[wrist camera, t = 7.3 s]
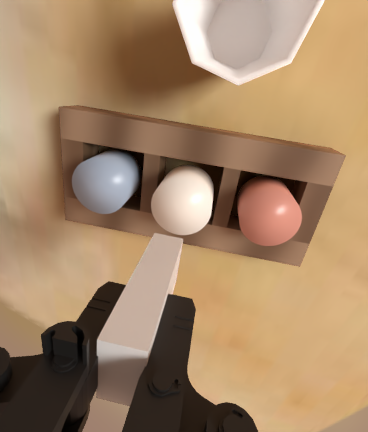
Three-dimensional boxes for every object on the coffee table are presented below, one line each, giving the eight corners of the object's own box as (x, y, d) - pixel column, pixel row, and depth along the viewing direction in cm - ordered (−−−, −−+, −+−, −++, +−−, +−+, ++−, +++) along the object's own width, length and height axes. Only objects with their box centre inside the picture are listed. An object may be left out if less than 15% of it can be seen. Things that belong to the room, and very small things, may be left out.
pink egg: (232, 217, 24) (233, 239, 20) (243, 171, 22) (247, 186, 18) (280, 227, 24) (290, 251, 20) (296, 180, 22) (310, 198, 18)
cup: (232, 108, 22) (235, 115, 14) (144, 3, 20) (96, -51, 12) (308, 35, 19) (359, -2, 12) (216, -96, 17) (209, -240, 10)
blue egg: (95, 191, 25) (73, 208, 21) (94, 144, 23) (70, 154, 19) (140, 200, 24) (125, 218, 21) (143, 153, 23) (128, 164, 19)
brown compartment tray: (81, 207, 28) (65, 219, 25) (78, 105, 23) (58, 106, 21) (292, 248, 26) (300, 266, 23) (330, 147, 22) (345, 155, 19)
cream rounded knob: (160, 208, 24) (148, 228, 20) (165, 160, 22) (153, 173, 18) (208, 217, 23) (205, 240, 20) (218, 169, 21) (217, 184, 18)
